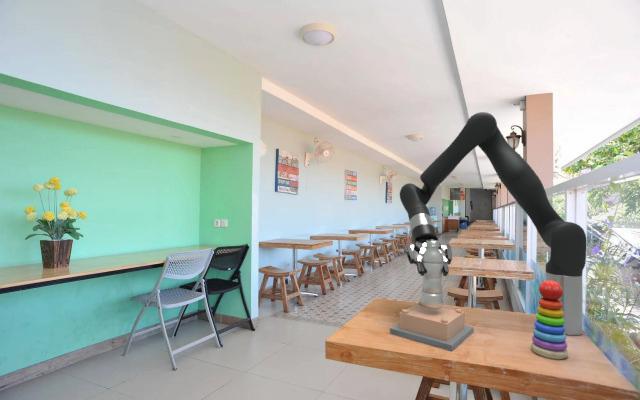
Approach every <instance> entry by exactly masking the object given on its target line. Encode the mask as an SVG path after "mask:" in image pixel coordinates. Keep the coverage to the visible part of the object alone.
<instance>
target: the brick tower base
mask: <svg viewBox="0 0 640 400" xmlns="http://www.w3.org/2000/svg"><path fill="white" fill-rule="evenodd" d="M465 313H466V312H465V311H463V309H462V308H455V309H452V308H447V307H446V308H445V307H443V306H442V307H441V308H439V309H430V308H426V307H424V306H423V305H422V303H421V300H419V301H418V303H417V304H415V305H413V306H411V307H408V308H403V309H401V311H400V312H399V322H398V323H397V324H395V325H393V326H390V328H389V334H390V335H394V336H398V337H401V338H404V339H408V340H411V341H414V342H418V343H422V344H426V345H430V346H431V347H435V348H439V349H442V350H446V351H448V352H449V351H450V352H454V350H456V349H457V348H458V347H459V346H460V345H461V344H462V343H463V342H464V341H465V340H467V339H468V338H469V337H470V336H471V335H472V334H473V333H474V331H475V329H474V327H475V326H470V325H466V324H465V323H466V322H465V320H466V319H465V316H466V315H465ZM466 338H467V339H466Z"/></svg>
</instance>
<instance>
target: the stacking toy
mask: <svg viewBox="0 0 640 400" xmlns="http://www.w3.org/2000/svg"><path fill="white" fill-rule="evenodd" d="M538 292H539V294H540V295H541V296H542V297H541V298H539V299H538V304H539V305H538V307H537V312H538V313H536V316H535V317H536V320H535V321H534V328H533V330H532V332H533V335H532V337H531V340H532V342H531V344H530V348H531V350H532V351H533V352H534V353H536V354H537V355H539V356H542V357H544V358H548V359H553V360H554V359H555V360H561V359H562V360H563V359H566V358H568V356H569V350H568V349H567V348H568V343H567V341H566V340H567V334H564V332H565V327H564V325H563V324H564V322H565V321H564V318H563V317H562V316H563V314H564V313H563V311H562V310H561V309H560V308H562V303H561V301H559V300H558V299H560V298H561V296H562V294H563V289H562V287H561V286H560V285H559V284H558V283H557V282H555V281H551V280H547V281H546V280H544V281H542V282H541V283H540V284H539V287H538Z"/></svg>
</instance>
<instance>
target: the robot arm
mask: <svg viewBox="0 0 640 400" xmlns="http://www.w3.org/2000/svg"><path fill="white" fill-rule="evenodd" d="M476 147H479V149H480V150H482V152H483V153H484V154H485V156H486V157H487V158H488V160H489V162H490V163H491V165H492V167H493V170H494V171H495V172H496V175H497V177H498V178H499V179H500V182H501V183H502V184H503V186H504V187H505V189H506V190H507V191H508V192H509V194H510V195H511V197H513V199H514V200H515V201H516V202H517V204H518V205H519V207H520V208H521V209H522V210H523V211H524V213H526V214H527V216H528V217H529V219H530V220H531V222H532V223H533V226H534V227H535V229H536V230H537V232H538V235H539V236H540V237H541V239H542V241H543V242H544V244H545V245H546V246H548V247H549V248H550V257H549V260H548V261H547V262H546V263H545V281H547V280H551V281H555V282H557V283H558V284H559V285H560V286H561V287H562V289H563V294H562V296H561V298H560V299H558V300H559V301H561V303H562V308H560V309H561V310H562V311H563V313H564V314H563V316H562V317H563V318H564V321H565V322H564V324H563V325H564V327H565V332H564V334H565V335H566V336H567V335H570V336H580V335H583V318H584V317H583V310H584V309H583V307H584V306H583V295H584V294H583V293H584V291H583V271H584V268H585V267H586V262H587V261H586V260H587V244H588V243H587V236H586V232H585V230H584V228H582V226H581V225H579V224H578V223H574V222H570V221H565V220H564V219H563V218H562V217H561V216H560V215H559V214H558V212H557V211H556V210H555V208H554V207H553V206H552V205H551V203H550V201H549V199H548V195H547V193H546V189H545V186H544V184H543V183H542V181H541V179H540V177H539V175H537V173H536V172H535V171H534V169H533V168H532V167H531V166H530V165H529V163H528V162H527V161H526V160H525V159H524V158H523V156H521V155H520V154H519V152H518V151H516V150H515V149H514V148H513V147H512V146H511V145H510V144H509V143H508V141H507V140H506V139H505V137H504V135H503V134H502V132H501V130H500V129H499V127H498V124H497V119H496V118H495V116H494V114H493V115H492V114H491V113H489V112H485V111H482V112H480V111H479V112H477V113H475V114H473V115H471V116H470V117H469V118H468V119H467V121H466V123H465V125H464V126H463V127H462V129H461V131H460V132H459V133H458V135H457V136H456V137H455V138H454V139H453V140H452V142H451V143H450V144H449V146H448V147H447V148H446V149H445V150H444V151H442V153H440V154H439V156H437V158H436V159H434V161H433V162H432V163H430V165H429V166H428V167H427V168H425V170H424V171H423V172H422V173H421V174H420V177H419V178H420V181H421V182H422V184H423V186H422V188H421V187H419V186H417V185H416V184H413V183H410V182H409V183H406V184H404V185H402V187H401V189H400V191H399V199H400V202H401V204H402V206H403V208H404V210H405V211H406V213H407V217H408V221H409V228H410V233H411V236H412V241H413V244H410V243H406V244H405V248H404V251H405V254H406V256H407V259H408V262H409V264H411V265H413V264H414V265H415V266H416V269H417V273H418V275H420V276H421V277H423V276H424V273H425V271H424V267H423V263H422V255H423V253H424V252H425V250H426V249H427V247H426V240H438V241H439V237H438V235H437V231H436V228H435V225H434V221H433V219H432V217H431V215H430V211H429V208H428V206H427V204H428V203H429V202H430V200H431V198H432V196H433V195H434V193H435V192H436V190H437V188H438V187H439V186H440V185H441V184H442V183H443V182H444V181H445V180H446V179H447V177H449V176H450V175H451V173H452V172H453V171H454V170H455V169H456V168H457V166H458V165H459V164H460V163H461V161H463V160H464V158H466V156H467V155H469V154H470V152H472V151H473V150H474V149H475V148H476ZM438 248H439V250H440V252H441V253H442V255H443V257H444V262H443V263H444V264H443V270H442V277H447V276H448V275H449V272H450V268H449V265H450V264H451V262H452V260H453V254H452V247H451V245H450V244H449V243H447V244H446V245H442V244H441V243H440V242H439V247H438ZM441 250H442V251H441ZM414 251H415V252H416V253H417V254H418V255H417V257H415V255H414Z"/></svg>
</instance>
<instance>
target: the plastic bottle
mask: <svg viewBox="0 0 640 400" xmlns="http://www.w3.org/2000/svg"><path fill="white" fill-rule="evenodd" d="M439 243H440V241H439V239H438V240H426V247H427V249H426V250H425V252H424V253H423V255H422V260H421V262H422V263H423V267H424V271H425V273H424V276H422V288H421V289H422V290H421V294H420V301H421V303H422V305H423V306H424V307H426V308H430V309H439V308H441V307H442V308H443V305H444V301H445V300H444V294H443V283H442V281H443V272H442V270H443V264H444V263H443V262H444V257H445V256H444V254H443V255H442V253H443V252H442V251H441V249H440V250H439V248H438V247H439ZM440 251H441V252H442V253H441V252H440ZM443 256H444V257H443Z"/></svg>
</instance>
